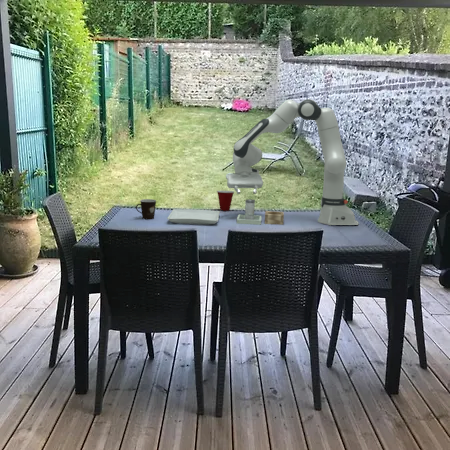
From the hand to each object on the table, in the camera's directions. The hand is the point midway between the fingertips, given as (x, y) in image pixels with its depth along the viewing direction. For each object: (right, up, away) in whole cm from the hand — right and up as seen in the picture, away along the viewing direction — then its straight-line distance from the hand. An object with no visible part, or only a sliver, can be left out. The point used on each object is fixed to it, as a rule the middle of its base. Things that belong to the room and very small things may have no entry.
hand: (246, 193), depth 282 cm
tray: (+1, -17, -3) cm, 17 cm away
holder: (+15, -17, -3) cm, 23 cm away
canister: (+1, -16, -4) cm, 16 cm away
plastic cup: (-12, -9, +31) cm, 34 cm away
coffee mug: (-56, -14, 0) cm, 58 cm away
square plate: (-29, -15, +1) cm, 33 cm away
